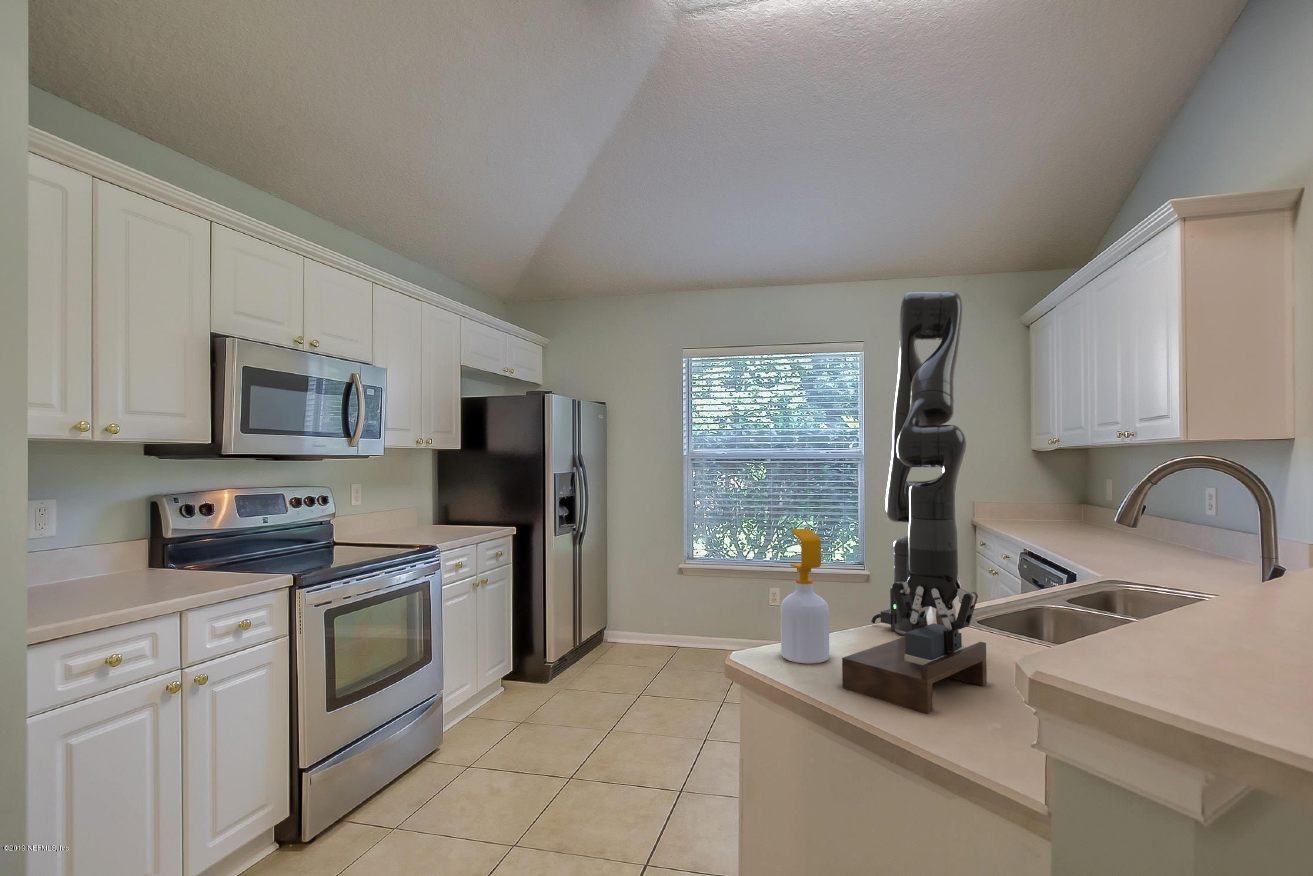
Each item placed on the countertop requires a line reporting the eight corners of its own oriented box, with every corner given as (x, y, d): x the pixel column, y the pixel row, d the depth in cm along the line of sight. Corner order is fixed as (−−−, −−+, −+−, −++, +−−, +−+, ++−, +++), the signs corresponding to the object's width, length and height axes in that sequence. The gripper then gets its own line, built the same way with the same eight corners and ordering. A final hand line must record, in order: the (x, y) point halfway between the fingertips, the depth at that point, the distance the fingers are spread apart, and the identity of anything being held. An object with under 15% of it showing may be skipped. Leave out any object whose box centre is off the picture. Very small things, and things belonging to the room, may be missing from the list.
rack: (842, 687, 111) (841, 645, 111) (904, 663, 124) (904, 625, 124) (927, 714, 99) (927, 667, 99) (986, 684, 112) (986, 642, 112)
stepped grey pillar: (931, 667, 104) (930, 638, 104) (904, 660, 107) (904, 632, 107) (963, 653, 111) (963, 626, 111) (937, 647, 114) (937, 621, 114)
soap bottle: (812, 648, 133) (811, 526, 134) (838, 661, 125) (837, 531, 125) (772, 653, 130) (771, 528, 131) (796, 666, 122) (795, 533, 123)
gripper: (986, 547, 106) (988, 654, 106) (904, 539, 117) (905, 636, 117) (965, 552, 102) (967, 664, 101) (881, 543, 112) (882, 644, 112)
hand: (934, 649), depth 109 cm, fingers closed on stepped grey pillar, 4 cm apart
